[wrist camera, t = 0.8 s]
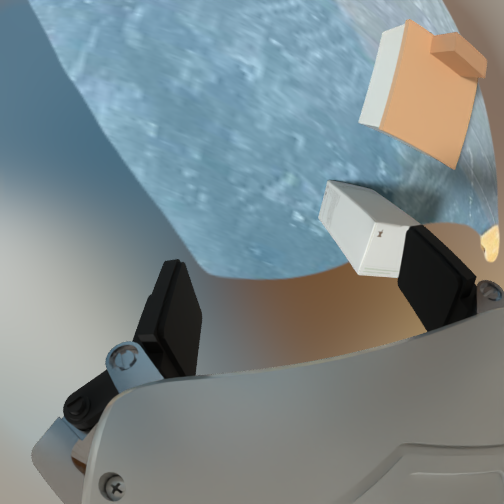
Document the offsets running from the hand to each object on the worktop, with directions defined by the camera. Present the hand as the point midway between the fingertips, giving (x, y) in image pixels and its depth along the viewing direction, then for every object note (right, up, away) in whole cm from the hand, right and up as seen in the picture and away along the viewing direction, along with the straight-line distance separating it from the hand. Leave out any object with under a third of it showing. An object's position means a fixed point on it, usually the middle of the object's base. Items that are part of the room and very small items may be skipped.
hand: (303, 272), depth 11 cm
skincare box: (+12, +9, +29) cm, 32 cm away
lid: (+21, +21, +13) cm, 33 cm away
